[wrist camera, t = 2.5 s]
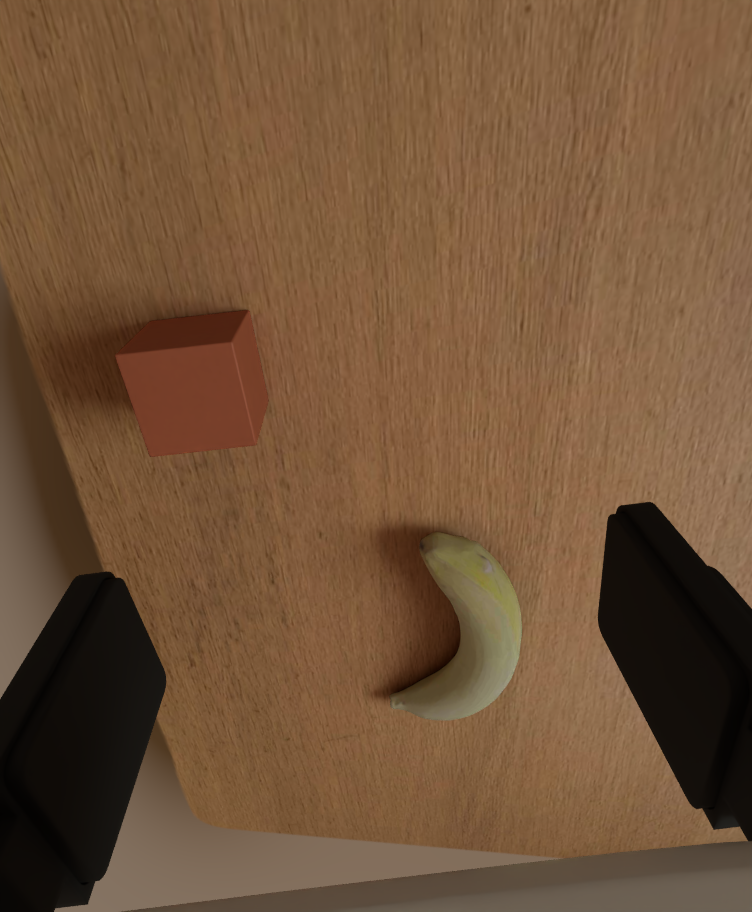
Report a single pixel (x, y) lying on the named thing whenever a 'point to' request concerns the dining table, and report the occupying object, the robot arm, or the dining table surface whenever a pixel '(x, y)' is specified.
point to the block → (195, 383)
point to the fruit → (468, 631)
